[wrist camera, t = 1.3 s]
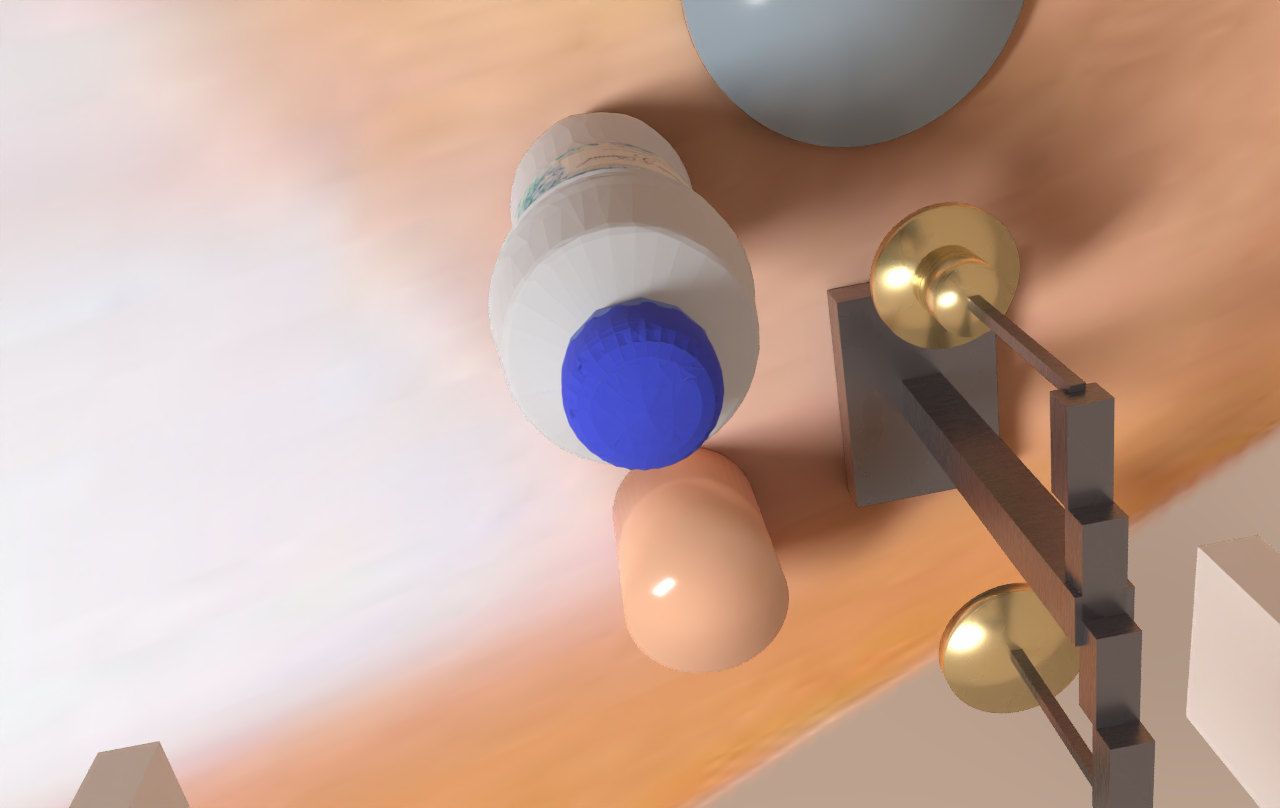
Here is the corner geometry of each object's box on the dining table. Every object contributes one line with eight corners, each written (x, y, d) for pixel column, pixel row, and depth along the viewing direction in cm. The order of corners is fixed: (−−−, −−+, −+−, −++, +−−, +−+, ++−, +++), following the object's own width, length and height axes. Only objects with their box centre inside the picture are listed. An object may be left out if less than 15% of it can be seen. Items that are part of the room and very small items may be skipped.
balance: (816, 189, 40) (1008, 369, 23) (973, 159, 40) (1276, 317, 23) (856, 568, 47) (1025, 913, 30) (990, 542, 47) (1232, 873, 30)
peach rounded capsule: (600, 461, 44) (610, 551, 37) (744, 434, 44) (778, 519, 37) (626, 583, 46) (639, 686, 40) (762, 556, 46) (797, 656, 40)
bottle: (718, 138, 39) (871, 319, 21) (647, 303, 41) (728, 596, 23) (544, 66, 37) (543, 193, 19) (481, 241, 40) (426, 502, 21)
